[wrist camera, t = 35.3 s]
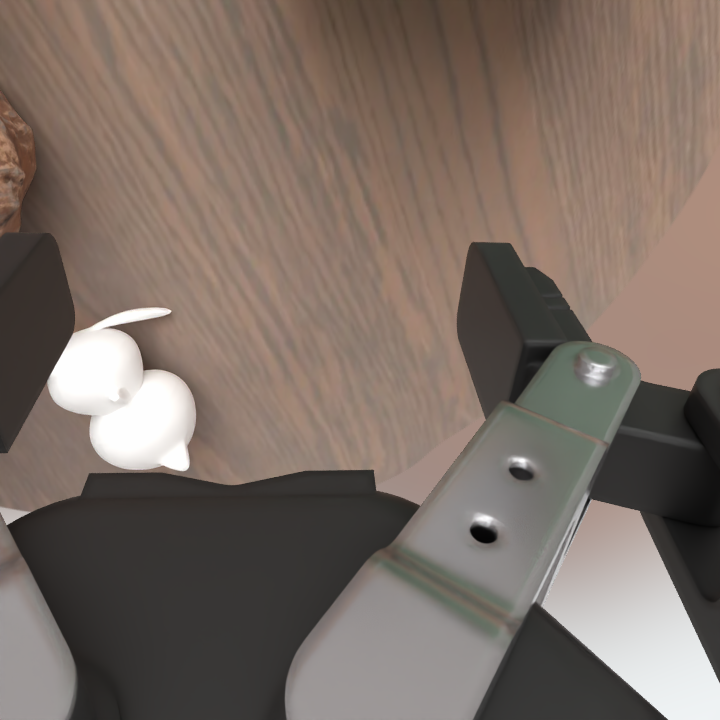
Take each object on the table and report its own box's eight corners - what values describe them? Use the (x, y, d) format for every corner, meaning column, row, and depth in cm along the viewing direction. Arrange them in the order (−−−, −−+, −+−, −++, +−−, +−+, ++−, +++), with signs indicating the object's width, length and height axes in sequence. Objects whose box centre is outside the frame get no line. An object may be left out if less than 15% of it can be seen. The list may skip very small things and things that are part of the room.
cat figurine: (15, 399, 37) (148, 513, 43) (155, 287, 39) (262, 411, 45) (10, 360, 44) (125, 463, 50) (129, 267, 46) (224, 377, 53)
